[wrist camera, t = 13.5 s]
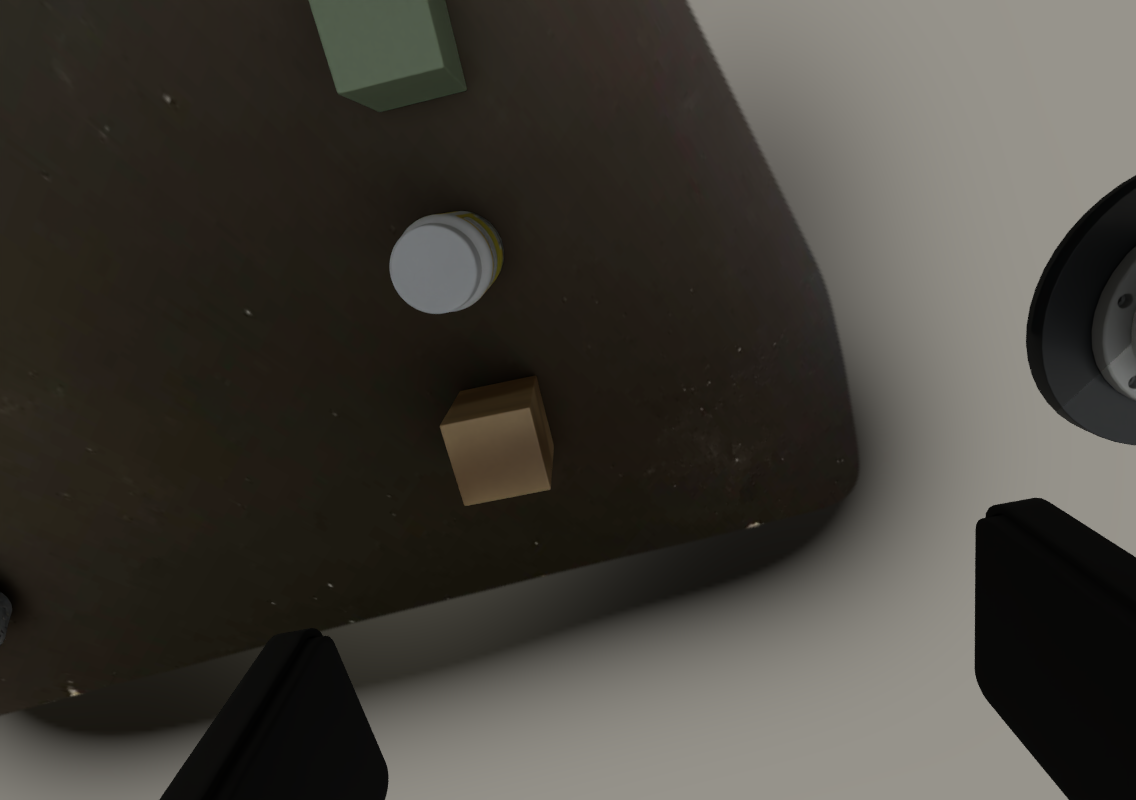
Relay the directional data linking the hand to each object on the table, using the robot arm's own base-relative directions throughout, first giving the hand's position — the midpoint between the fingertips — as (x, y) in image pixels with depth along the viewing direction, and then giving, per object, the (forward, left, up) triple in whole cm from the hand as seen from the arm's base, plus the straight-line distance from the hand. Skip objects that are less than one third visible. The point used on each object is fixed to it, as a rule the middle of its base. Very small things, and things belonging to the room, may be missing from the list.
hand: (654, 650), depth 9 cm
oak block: (+9, 0, -28) cm, 30 cm away
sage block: (-5, -16, -28) cm, 33 cm away
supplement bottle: (+2, -8, -28) cm, 30 cm away
